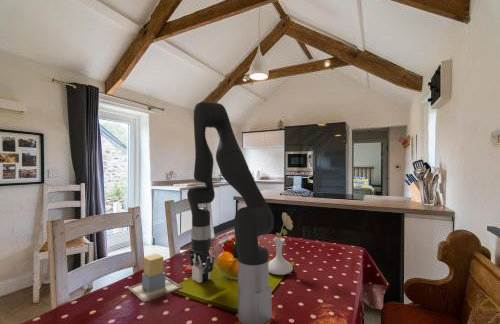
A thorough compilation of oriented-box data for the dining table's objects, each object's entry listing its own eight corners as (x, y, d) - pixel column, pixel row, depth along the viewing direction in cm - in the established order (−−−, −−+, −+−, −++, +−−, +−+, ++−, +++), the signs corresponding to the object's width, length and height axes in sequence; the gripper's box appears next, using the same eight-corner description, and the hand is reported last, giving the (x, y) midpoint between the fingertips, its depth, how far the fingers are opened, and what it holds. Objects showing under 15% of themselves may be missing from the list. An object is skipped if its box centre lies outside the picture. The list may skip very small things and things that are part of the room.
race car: (194, 276, 104) (194, 267, 104) (181, 276, 105) (181, 266, 105) (204, 264, 117) (204, 255, 117) (193, 263, 118) (193, 255, 118)
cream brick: (210, 281, 99) (210, 265, 99) (199, 285, 95) (199, 269, 96) (202, 277, 102) (202, 262, 103) (192, 281, 99) (192, 266, 99)
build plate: (182, 290, 92) (182, 286, 92) (144, 305, 82) (144, 301, 82) (163, 278, 102) (163, 275, 102) (127, 291, 91) (127, 287, 91)
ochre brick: (163, 273, 92) (163, 256, 93) (149, 277, 89) (149, 260, 89) (157, 269, 96) (157, 253, 96) (143, 273, 92) (143, 257, 92)
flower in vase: (279, 280, 100) (279, 217, 100) (260, 271, 108) (260, 212, 109) (300, 271, 108) (300, 213, 108) (281, 263, 117) (281, 209, 117)
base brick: (165, 286, 92) (165, 273, 92) (149, 292, 88) (149, 278, 88) (157, 281, 97) (157, 268, 97) (142, 287, 92) (142, 273, 92)
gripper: (182, 234, 101) (182, 277, 101) (203, 242, 92) (204, 289, 91) (198, 231, 107) (198, 271, 107) (220, 238, 97) (220, 282, 97)
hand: (201, 279), depth 99 cm, fingers closed on cream brick, 5 cm apart
